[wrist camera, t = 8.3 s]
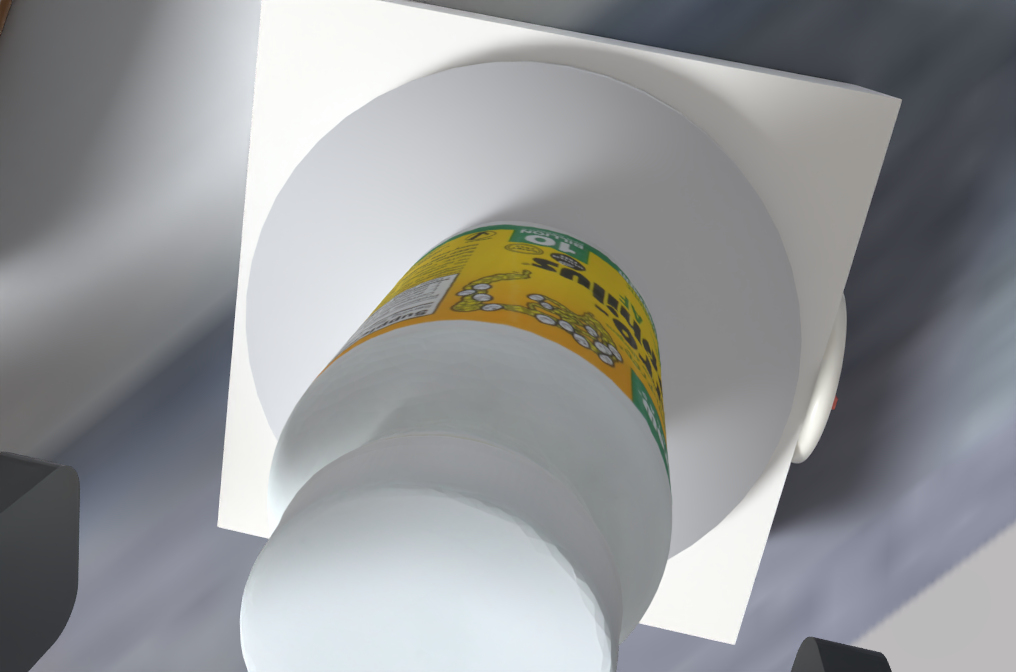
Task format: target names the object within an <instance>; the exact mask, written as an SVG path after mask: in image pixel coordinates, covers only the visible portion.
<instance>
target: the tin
mask: <svg viewBox="0 0 1016 672" xmlns="http://www.w3.org/2000/svg"><path fill="white" fill-rule="evenodd" d="M11 3H12V0H0V35H1V32H2V29H3V27H4V24H5V21H6V18H7V15H8V12H9V9H10V6H11Z"/></svg>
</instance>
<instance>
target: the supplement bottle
mask: <svg viewBox="0 0 1016 672" xmlns="http://www.w3.org/2000/svg"><path fill="white" fill-rule="evenodd" d="M267 509H268V521H269V528H270V535H271V537H270V538H269V540H268V541H267V543H266V544H265V546H264V547H263V549H262V550H261V552H260V554H259V555H258V557H257V559H256V561H255V563H254V565H253V567H252V570H251V572H250V575H249V578H248V581H247V583H246V586H245V590H244V594H243V598H242V605H241V613H240V633H241V646H242V652H243V657H244V660H245V663H246V667H247V670H248V672H616V670H617V662H618V651H619V645H620V644H621V643H622V642H623V641H624V640H625V639H626V638H627V637H628V636H629V635H630V633H631V632H632V631H633V630H634V629H635V627H636V626H637V625H638V623H639V622H640V620H641V619H642V617H643V616H644V614H645V612H646V611H647V609H648V608H649V606H650V604H651V602H652V600H653V598H654V596H655V594H656V592H657V590H658V587H659V585H660V582H661V580H662V577H663V574H664V571H665V567H666V564H667V560H668V555H669V550H670V543H671V533H672V494H671V485H670V470H669V463H668V452H667V439H666V426H665V413H664V405H663V391H662V380H661V362H660V352H659V345H658V337H657V331H656V327H655V323H654V319H653V316H652V313H651V311H650V308H649V306H648V304H647V302H646V300H645V298H644V296H643V295H642V293H641V291H640V290H639V288H638V286H637V285H636V283H635V282H634V280H633V279H632V278H631V276H630V275H629V274H628V272H627V271H626V270H625V269H624V268H623V267H622V266H621V265H620V264H619V263H618V262H617V261H616V260H615V259H614V258H613V257H612V256H611V255H610V254H609V253H607V252H606V251H604V250H603V249H601V248H600V247H598V246H597V245H595V244H594V243H592V242H590V241H588V240H586V239H584V238H582V237H580V236H577V235H575V234H572V233H569V232H566V231H563V230H560V229H557V228H553V227H550V226H546V225H543V224H538V223H532V222H525V221H495V222H489V223H484V224H480V225H476V226H473V227H470V228H467V229H464V230H462V231H460V232H458V233H456V234H454V235H452V236H450V237H448V238H446V239H444V240H443V241H441V242H440V243H438V244H437V245H435V246H434V247H432V248H431V249H430V250H428V251H427V252H426V253H425V254H424V255H423V256H422V257H421V258H420V259H419V260H418V261H417V262H416V263H415V264H414V265H413V266H412V267H411V268H410V269H409V270H408V271H407V272H406V273H405V274H404V276H403V277H402V278H401V279H400V280H399V281H398V282H397V284H396V285H395V286H394V288H393V289H392V290H391V291H390V292H389V293H388V294H387V295H386V297H385V298H384V299H383V300H382V301H381V303H380V304H379V305H378V306H377V307H376V308H375V309H374V311H373V312H372V313H371V314H370V316H369V317H368V318H367V319H366V320H365V321H364V323H363V324H362V325H361V326H360V327H359V328H358V329H357V331H356V332H355V333H354V334H353V335H352V336H351V337H350V339H349V340H348V341H347V342H346V343H345V344H344V346H343V347H342V348H341V349H340V350H339V352H338V353H337V354H336V355H335V356H334V358H333V359H332V360H331V361H330V362H329V363H328V364H327V366H326V367H325V368H324V369H323V371H322V372H321V373H320V374H319V375H318V376H317V377H316V378H315V380H314V381H313V382H312V383H311V385H310V386H309V387H308V389H307V390H306V391H305V393H304V394H303V396H302V397H301V398H300V400H299V401H298V403H297V404H296V405H295V407H294V409H293V411H292V412H291V414H290V416H289V418H288V419H287V421H286V423H285V425H284V427H283V429H282V432H281V434H280V437H279V440H278V442H277V445H276V448H275V451H274V455H273V459H272V464H271V468H270V474H269V482H268V497H267Z"/></svg>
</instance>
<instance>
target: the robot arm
mask: <svg viewBox="0 0 1016 672" xmlns="http://www.w3.org/2000/svg"><path fill="white" fill-rule="evenodd" d="M79 507H80V483H79V478H78V475H77V473H76V471H75V470H74V469H73V468H72V467H70V466H66V465H62V464H57V463H53V462H49V461H44V460H40V459H35V458H31V457H27V456H22V455H18V454H13V453H9V452H1V453H0V672H28V671H29V670H30V669H31V668H32V667H33V666H34V665H35V663H36V662H37V661H38V660H39V659H40V658H41V657H42V656H43V655H44V654H45V653H46V651H47V650H48V649H49V648H50V647H51V646H52V645H53V644H54V643H55V641H56V640H57V639H58V637H59V636H60V634H61V633H62V631H63V629H64V628H65V626H66V624H67V622H68V620H69V617H70V615H71V612H72V610H73V606H74V603H75V599H76V595H77V589H78V561H79ZM791 672H892V671H891V669H890V666H889V663H888V661H887V659H886V657H885V656H884V655H883V654H882V653H880V652H876V651H872V650H867V649H863V648H859V647H854V646H850V645H845V644H841V643H837V642H832V641H828V640H823V639H819V638H815V637H807V638H806V639H805V640H804V641H803V642H802V644H801V646H800V648H799V650H798V652H797V655H796V658H795V661H794V664H793V667H792V670H791Z"/></svg>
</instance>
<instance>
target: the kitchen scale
mask: <svg viewBox="0 0 1016 672" xmlns="http://www.w3.org/2000/svg"><path fill="white" fill-rule="evenodd" d="M901 102H902V99H899V98H896V97H893V96H889V95H886V94H883V93H880V92H877V91H874V90H870V89H867V88H864V87H861V86H858V85H854V84H849V83H844V82H838V81H833V80H828V79H822V78H817V77H812V76H806V75H801V74H796V73H791V72H785V71H780V70H775V69H769V68H764V67H759V66H753V65H748V64H743V63H738V62H732V61H727V60H722V59H716V58H711V57H706V56H701V55H695V54H690V53H685V52H679V51H674V50H669V49H663V48H658V47H653V46H648V45H642V44H637V43H632V42H626V41H621V40H616V39H611V38H605V37H600V36H595V35H589V34H584V33H579V32H573V31H568V30H563V29H558V28H552V27H547V26H542V25H536V24H531V23H526V22H521V21H515V20H510V19H505V18H499V17H494V16H489V15H483V14H478V13H473V12H468V11H462V10H457V9H452V8H446V7H441V6H436V5H430V4H425V3H420V2H415V1H409V0H262V3H261V15H260V27H259V39H258V51H257V62H256V74H255V86H254V98H253V110H252V122H251V134H250V146H249V158H248V169H247V181H246V193H245V205H244V217H243V229H242V241H241V253H240V265H239V276H238V288H237V300H236V312H235V324H234V336H233V348H232V360H231V372H230V383H229V395H228V407H227V419H226V431H225V443H224V455H223V467H222V479H221V491H220V502H219V514H218V526H217V527H220V528H225V529H229V530H234V531H238V532H242V533H247V534H251V535H255V536H260V537H264V538H270V537H271V535H270V528H269V521H268V509H267V497H268V482H269V474H270V468H271V464H272V459H273V455H274V451H275V448H276V445H277V442H278V440H279V437H280V434H281V432H282V429H283V427H284V425H285V423H286V421H287V419H288V418H289V416H290V414H291V412H292V411H293V409H294V407H295V405H296V404H297V403H298V401H299V400H300V398H301V397H302V396H303V394H304V393H305V391H306V390H307V389H308V387H309V386H310V385H311V383H312V382H313V381H314V380H315V378H316V377H317V376H318V375H319V374H320V373H321V372H322V371H323V369H324V368H325V367H326V366H327V364H328V363H329V362H330V361H331V360H332V359H333V358H334V356H335V355H336V354H337V353H338V352H339V350H340V349H341V348H342V347H343V346H344V344H345V343H346V342H347V341H348V340H349V339H350V337H351V336H352V335H353V334H354V333H355V332H356V331H357V329H358V328H359V327H360V326H361V325H362V324H363V323H364V321H365V320H366V319H367V318H368V317H369V316H370V314H371V313H372V312H373V311H374V309H375V308H376V307H377V306H378V305H379V304H380V303H381V301H382V300H383V299H384V298H385V297H386V295H387V294H388V293H389V292H390V291H391V290H392V289H393V288H394V286H395V285H396V284H397V282H398V281H399V280H400V279H401V278H402V277H403V276H404V274H405V273H406V272H407V271H408V270H409V269H410V268H411V267H412V266H413V265H414V264H415V263H416V262H417V261H418V260H419V259H420V258H421V257H422V256H423V255H424V254H425V253H426V252H427V251H428V250H430V249H431V248H432V247H434V246H435V245H437V244H438V243H440V242H441V241H443V240H444V239H446V238H448V237H450V236H452V235H454V234H456V233H458V232H460V231H462V230H464V229H467V228H470V227H473V226H476V225H480V224H484V223H489V222H495V221H525V222H532V223H538V224H543V225H546V226H550V227H553V228H557V229H560V230H563V231H566V232H569V233H572V234H575V235H577V236H580V237H582V238H584V239H586V240H588V241H590V242H592V243H594V244H595V245H597V246H598V247H600V248H601V249H603V250H604V251H606V252H607V253H609V254H610V255H611V256H612V257H613V258H614V259H615V260H616V261H617V262H618V263H619V264H620V265H621V266H622V267H623V268H624V269H625V270H626V271H627V272H628V274H629V275H630V276H631V278H632V279H633V280H634V282H635V283H636V285H637V286H638V288H639V290H640V291H641V293H642V295H643V296H644V298H645V300H646V302H647V304H648V306H649V308H650V311H651V313H652V316H653V319H654V323H655V327H656V331H657V337H658V345H659V352H660V362H661V380H662V391H663V405H664V413H665V426H666V439H667V452H668V463H669V470H670V485H671V494H672V533H671V543H670V550H669V555H668V560H667V564H666V567H665V571H664V574H663V577H662V580H661V582H660V585H659V587H658V590H657V592H656V594H655V596H654V598H653V600H652V602H651V604H650V606H649V608H648V609H647V611H646V612H645V614H644V616H643V617H642V619H641V620H640V622H639V623H641V624H645V625H650V626H654V627H658V628H663V629H667V630H671V631H676V632H680V633H685V634H689V635H693V636H698V637H702V638H706V639H711V640H715V641H720V642H724V643H728V644H733V645H735V642H736V639H737V636H738V632H739V629H740V626H741V623H742V619H743V616H744V613H745V610H746V606H747V603H748V600H749V597H750V593H751V590H752V587H753V584H754V580H755V577H756V574H757V571H758V567H759V564H760V561H761V558H762V554H763V551H764V548H765V545H766V541H767V538H768V535H769V532H770V528H771V525H772V522H773V519H774V515H775V512H776V509H777V506H778V502H779V499H780V496H781V493H782V489H783V486H784V483H785V480H786V476H787V473H788V470H789V467H790V463H791V462H793V463H802V462H804V461H805V460H806V459H807V458H808V457H809V456H810V454H811V453H812V451H813V450H814V448H815V447H816V445H817V443H818V441H819V439H820V437H821V435H822V433H823V431H824V428H825V425H826V423H827V420H828V417H829V415H830V412H831V409H833V410H835V406H836V403H837V400H838V398H837V396H836V391H837V387H838V383H839V378H840V374H841V369H842V363H843V357H844V350H845V341H846V327H847V311H846V302H845V296H844V293H843V291H844V288H845V284H846V281H847V278H848V275H849V271H850V268H851V265H852V262H853V258H854V255H855V252H856V249H857V245H858V242H859V239H860V236H861V232H862V229H863V226H864V223H865V219H866V216H867V213H868V210H869V206H870V203H871V200H872V197H873V193H874V190H875V187H876V184H877V180H878V177H879V174H880V171H881V167H882V164H883V161H884V158H885V154H886V151H887V148H888V145H889V141H890V138H891V135H892V132H893V128H894V125H895V122H896V119H897V115H898V112H899V109H900V106H901Z"/></svg>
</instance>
